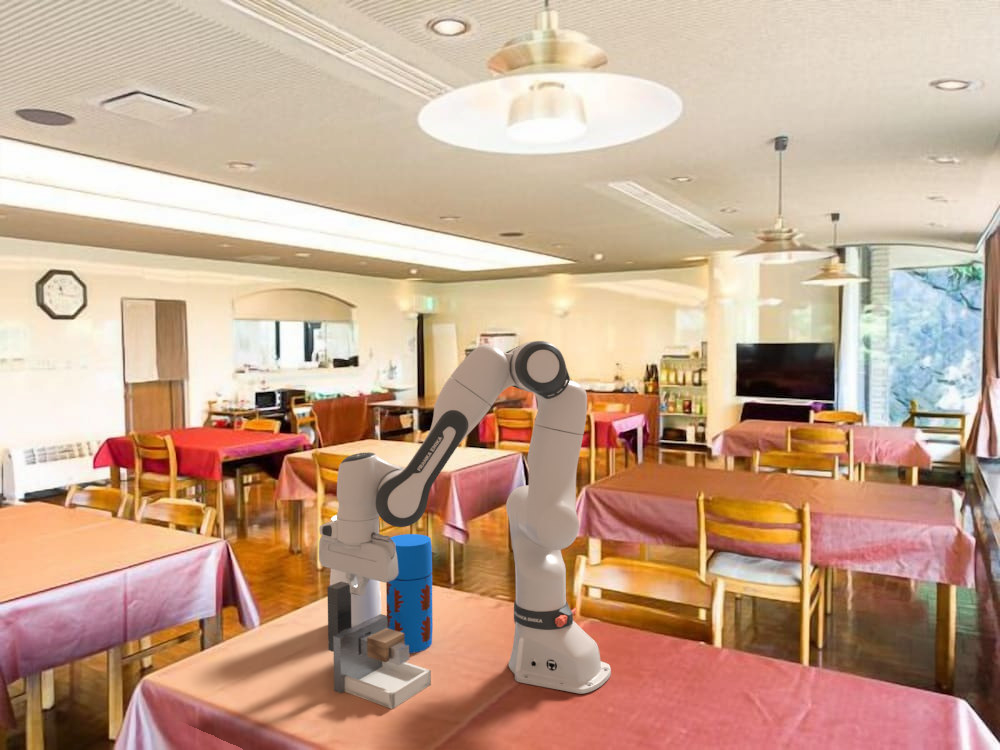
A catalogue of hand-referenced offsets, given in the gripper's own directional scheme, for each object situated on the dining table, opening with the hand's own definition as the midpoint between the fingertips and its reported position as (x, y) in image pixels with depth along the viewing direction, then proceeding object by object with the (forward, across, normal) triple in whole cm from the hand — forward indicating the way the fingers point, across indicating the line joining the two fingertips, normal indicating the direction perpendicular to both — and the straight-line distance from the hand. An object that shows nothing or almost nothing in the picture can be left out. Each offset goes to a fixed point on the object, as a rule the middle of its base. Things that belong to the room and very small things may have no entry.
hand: (357, 594), depth 150 cm
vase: (+18, +20, -20) cm, 34 cm away
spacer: (+11, -8, 0) cm, 14 cm away
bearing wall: (+18, -1, 0) cm, 18 cm away
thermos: (+18, +2, -20) cm, 27 cm away
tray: (+18, -8, 0) cm, 20 cm away
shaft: (+13, -3, 0) cm, 13 cm away
